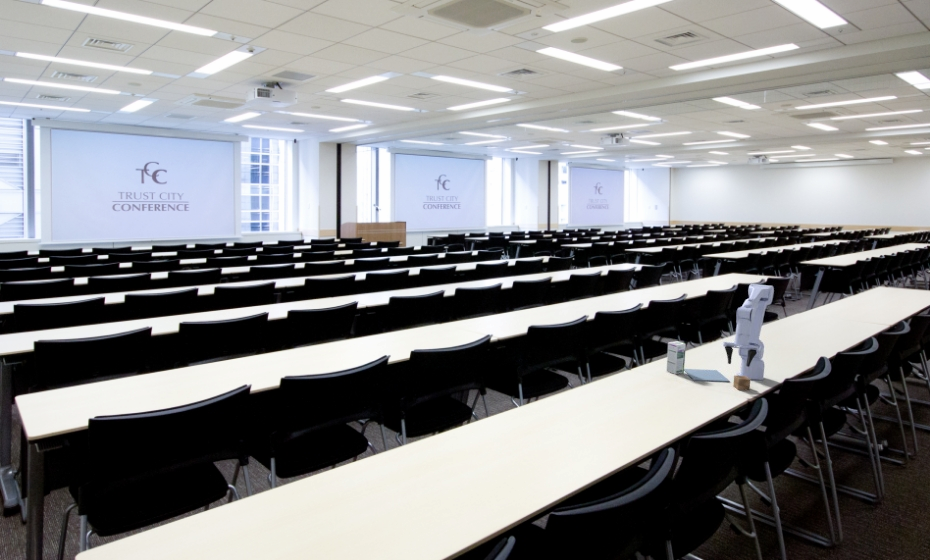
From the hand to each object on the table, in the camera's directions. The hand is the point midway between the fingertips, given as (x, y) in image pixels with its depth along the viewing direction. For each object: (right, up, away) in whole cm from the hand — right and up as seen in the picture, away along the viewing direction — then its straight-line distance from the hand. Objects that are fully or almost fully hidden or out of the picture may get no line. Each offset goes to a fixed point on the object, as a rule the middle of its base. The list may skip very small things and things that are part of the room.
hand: (738, 365), depth 257 cm
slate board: (-8, -8, +17) cm, 20 cm away
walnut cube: (+2, -10, +1) cm, 11 cm away
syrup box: (-20, -7, +22) cm, 30 cm away
